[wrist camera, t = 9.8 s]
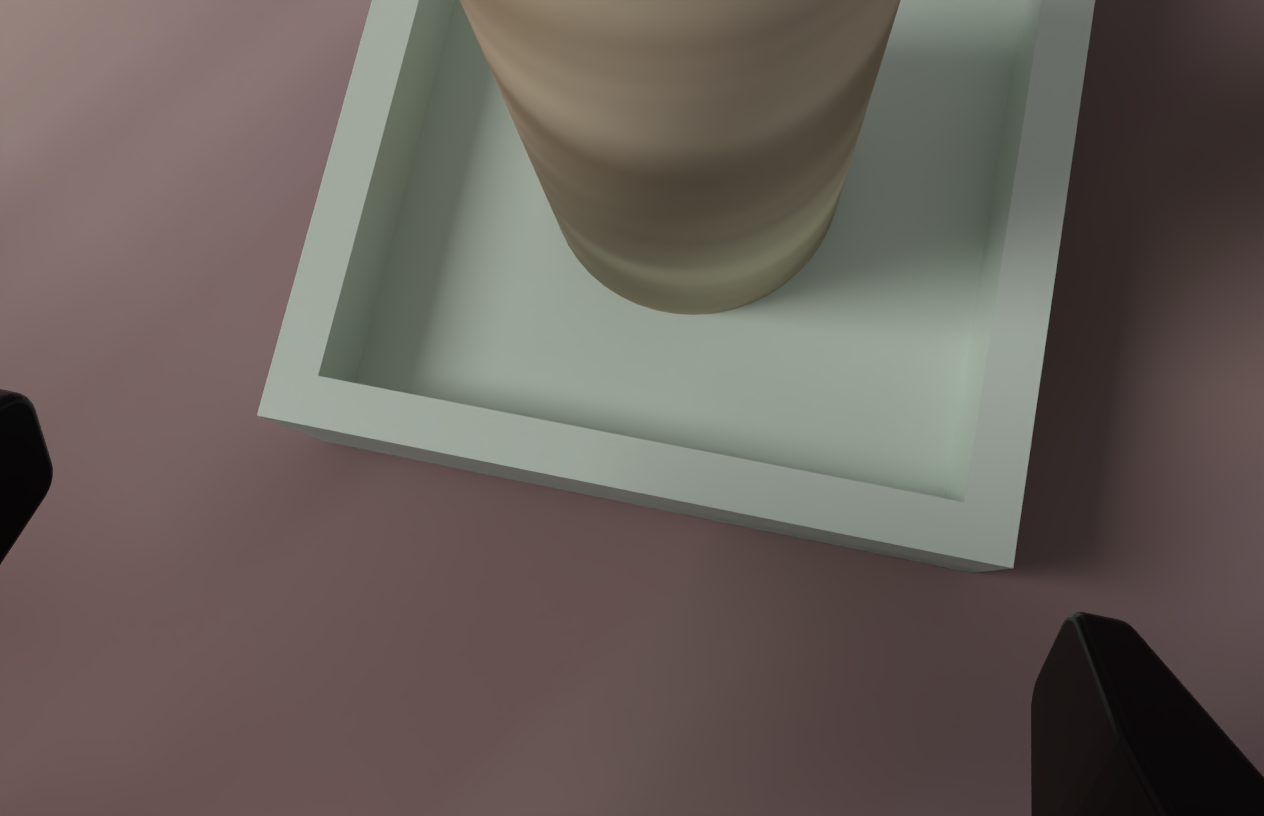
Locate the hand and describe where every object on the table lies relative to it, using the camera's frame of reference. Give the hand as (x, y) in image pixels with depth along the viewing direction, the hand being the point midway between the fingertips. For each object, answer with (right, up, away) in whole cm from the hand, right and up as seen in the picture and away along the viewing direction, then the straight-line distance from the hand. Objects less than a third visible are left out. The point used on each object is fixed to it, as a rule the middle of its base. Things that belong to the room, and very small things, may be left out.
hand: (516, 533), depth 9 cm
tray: (+2, +5, +10) cm, 11 cm away
